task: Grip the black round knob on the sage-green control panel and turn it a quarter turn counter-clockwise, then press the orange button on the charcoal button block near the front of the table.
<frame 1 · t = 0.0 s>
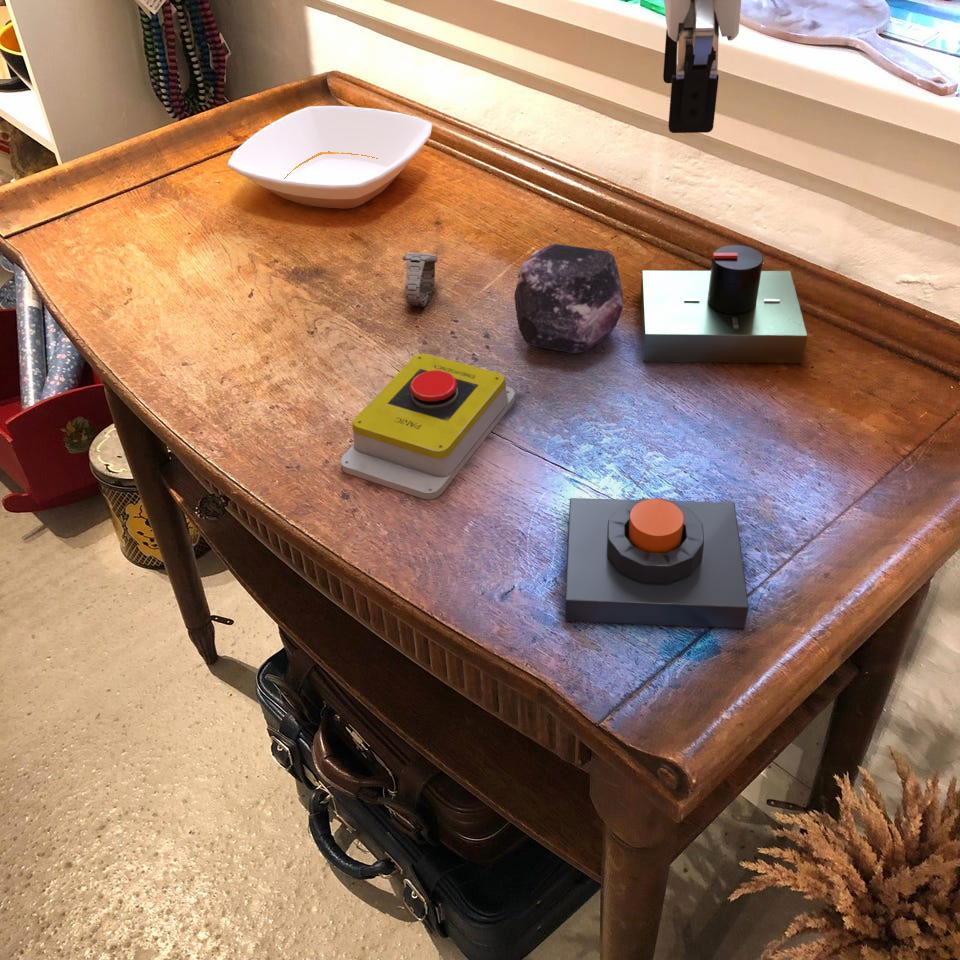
hand: (686, 105, 75), 22 cm above the table, tool pointing down, fingers open, 9 cm apart
emergency button: (431, 433, 82), on the table
wristwatch: (420, 300, 98), on the table
button: (655, 525, 66), point 4 cm above the table, slide at 0.1 cm
button block: (651, 570, 69), on the table
knob: (734, 277, 87), point 5 cm above the table, hinge at 0.0°
mineral specimen: (567, 341, 91), on the table
panel: (716, 328, 91), on the table
bowl: (338, 185, 119), on the table
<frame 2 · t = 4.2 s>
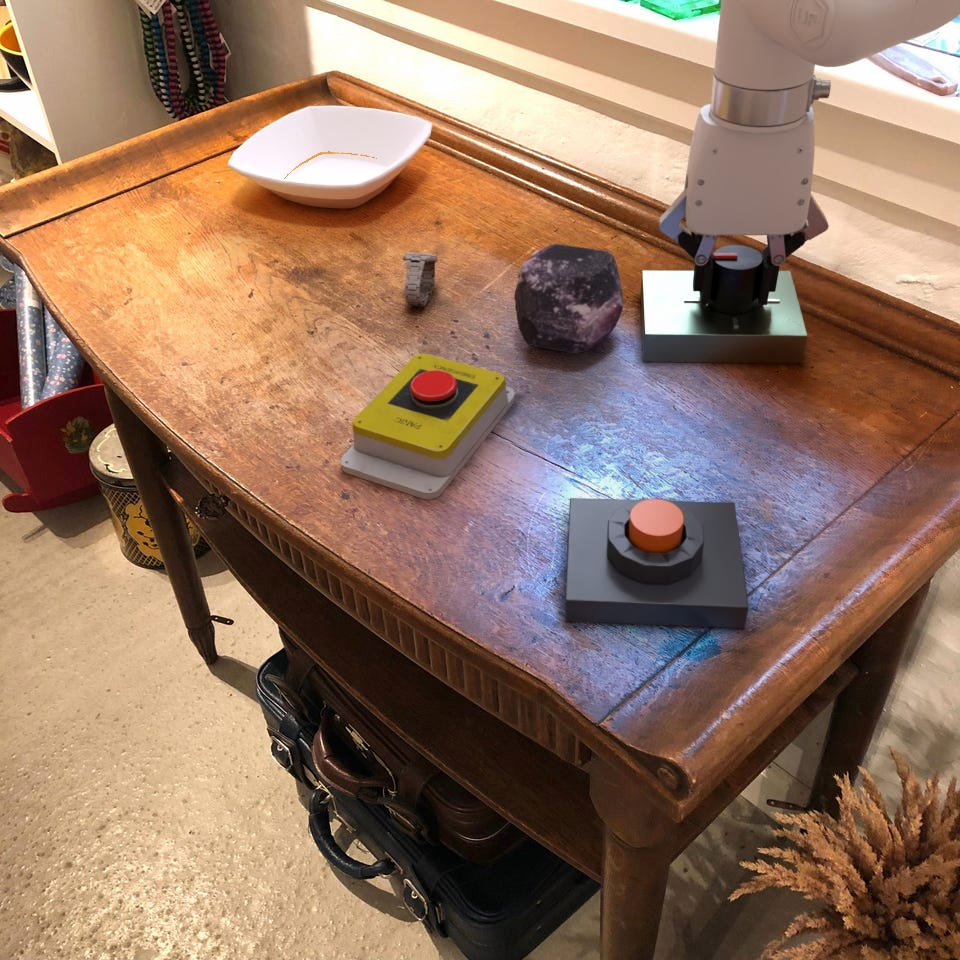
hand: (732, 295, 89), 4 cm above the table, tool pointing down, fingers closed on knob, 4 cm apart
knob: (734, 277, 87), point 5 cm above the table, hinge at 0.1°, touching gripper
everything else where it was.
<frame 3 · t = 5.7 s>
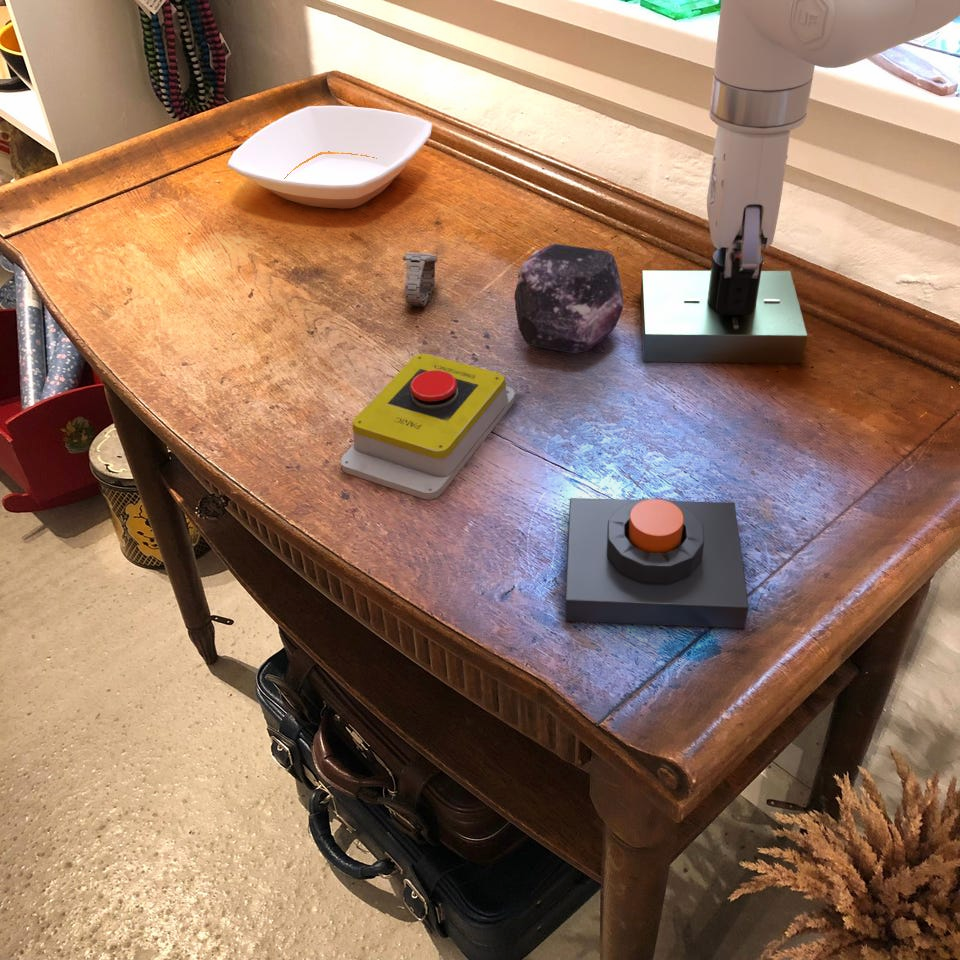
hand: (731, 295, 89), 4 cm above the table, tool pointing down, fingers closed on knob, 4 cm apart
knob: (734, 277, 87), point 5 cm above the table, hinge at 90.1°, touching gripper
everything else where it was.
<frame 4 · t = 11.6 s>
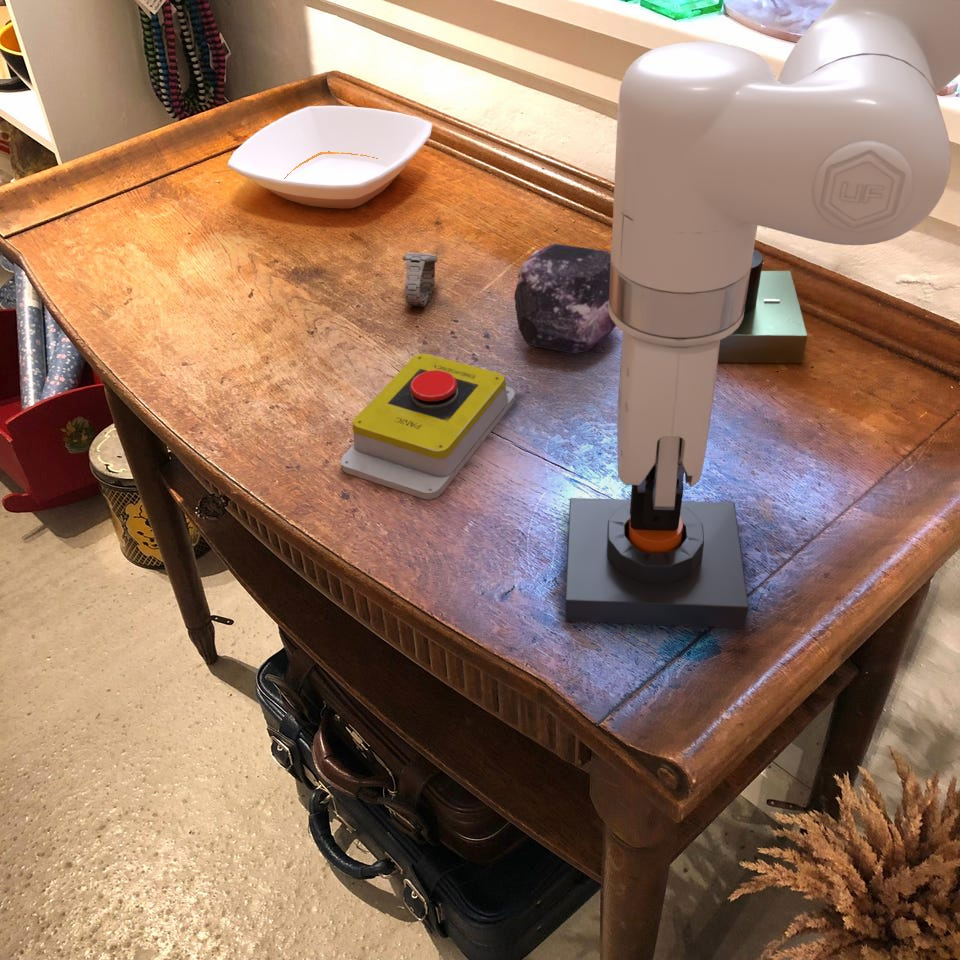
hand: (653, 521, 66), 5 cm above the table, tool pointing down, fingers closed
button: (655, 531, 67), point 4 cm above the table, slide at -0.4 cm, touching gripper
knob: (734, 277, 87), point 5 cm above the table, hinge at 88.6°
everything else where it was.
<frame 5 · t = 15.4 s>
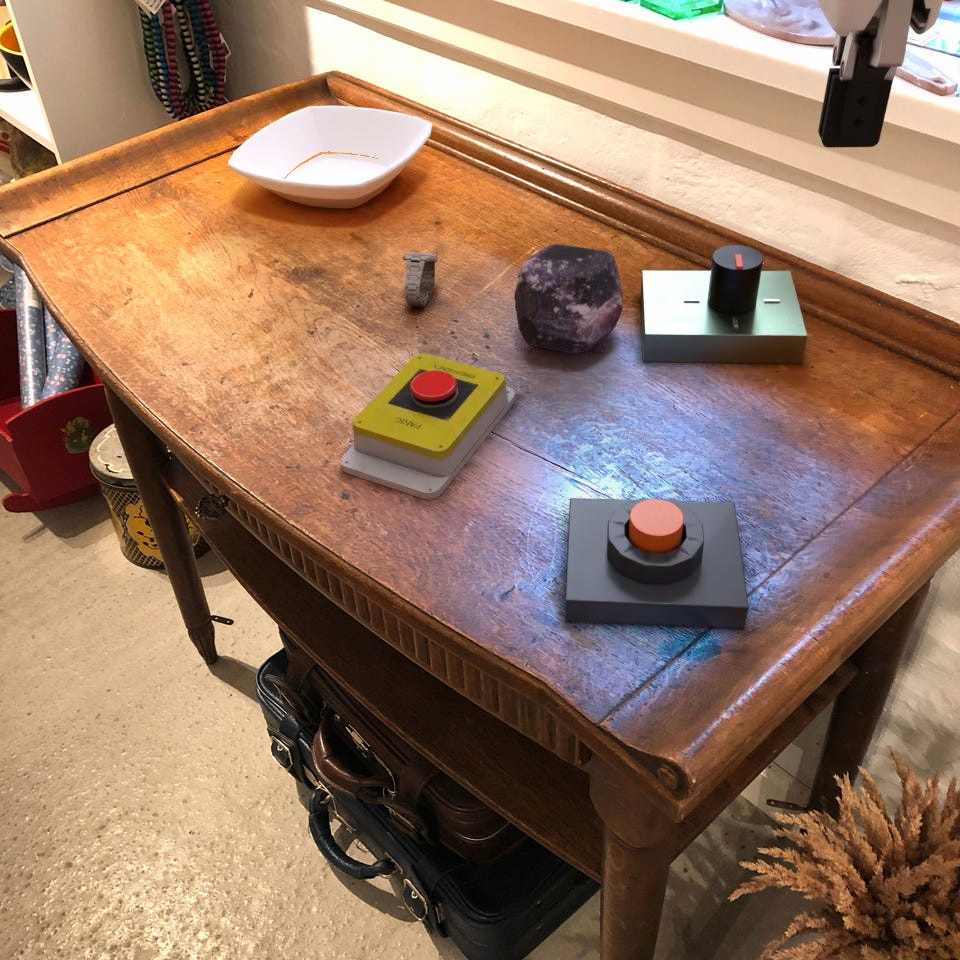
hand: (847, 140, 57), 27 cm above the table, tool pointing down, fingers closed
button: (655, 525, 66), point 4 cm above the table, slide at 0.1 cm
everything else where it was.
at the end: knob at +89° (first picture: +0°); button pushed in 1.1 cm at the most during the clip, back to where it started at the end; button slide at 0.1 cm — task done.
